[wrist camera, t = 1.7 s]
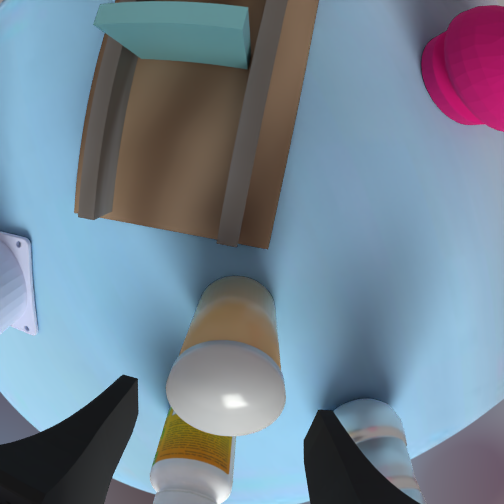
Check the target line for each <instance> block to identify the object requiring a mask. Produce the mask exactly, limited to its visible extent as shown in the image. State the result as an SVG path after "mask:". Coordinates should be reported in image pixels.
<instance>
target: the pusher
mask: <svg viewBox="0 0 504 504" xmlns="http://www.w3.org/2000/svg"><path fill="white" fill-rule="evenodd" d="M93 25H94V26H96V27H97V28H99V29H100V30H102V31H103V32H104V33H106V34H107V35H109V36H110V37H112V38H113V39H114V40H116V41H117V42H119V43H120V44H122V45H123V46H124V47H126V48H127V49H128V50H130V51H131V52H133V53H134V54H135V55H137V56H138V57H139V58H141V59H155V60H171V61H184V62H195V63H204V64H213V65H221V66H228V67H235V68H241V69H247V70H248V65H249V61H250V56H251V42H250V27H249V13H248V7H242V6H234V5H225V4H214V3H200V2H179V1H142V2H121V3H108V4H100V6H99V9H98V12H97V15H96V18H95V21H94V24H93Z"/></svg>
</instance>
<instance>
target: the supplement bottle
mask: <svg viewBox="0 0 504 504" xmlns="http://www.w3.org/2000/svg"><path fill="white" fill-rule="evenodd" d="M235 442H236V436H220V435H214V434H210V433H207V432H204V431H201V430H199V429H196V428H195V427H193V426H191V425H189V424H188V423H186V422H185V421H184V420H182V419H181V418H180V417H179V416H178V415H177V414H176V413H175V411H174V410H173V409H172V407H170V409H169V411H168V414H167V418H166V421H165V425H164V428H163V431H162V435H161V438H160V441H159V445H158V448H157V452H156V455H155V458H154V461H153V465H152V468H151V472H150V481H151V484H152V486H153V488H154V489H155V490H156V491H157V493H156V495H155V498H154V503H153V504H220V503H222V502H224V501H225V500H226V499H227V498H228V497H229V495H230V493H231V490H232V483H233V469H234V455H235Z"/></svg>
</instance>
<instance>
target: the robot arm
mask: <svg viewBox="0 0 504 504" xmlns="http://www.w3.org/2000/svg"><path fill="white" fill-rule="evenodd" d="M19 242H20V243H21V246H20V244H19ZM10 326H11V327H13V328H16V329H18V330H21V331H23V332H26V333H28V334H31V335H36V334H37V333H38V325H37V317H36V309H35V300H34V290H33V277H32V261H31V243H30V241H29V239H28V238H26V237H22V236H18V235H14V234H10V233H6V232H2V231H0V334H1V333H3V332H4V331H5V330H6V329H7V328H8V327H10ZM137 416H138V379H137V378H133V377H130V376H126V375H122V376H120V377H119V378H118V379H117V380H116V381H115V382H114V383H113V384H112V385H110V386H109V387H108V388H107V389H106V390H105V391H104V392H102V393H101V394H100V395H99V396H98V397H96V398H95V399H94V400H93V401H91V402H90V403H89V404H87V405H86V406H85V407H83V408H82V409H80V410H79V411H78V412H76V413H75V414H73V415H72V416H70V417H69V418H67V419H65V420H64V421H62V422H60V423H58V424H56V425H55V426H53V427H51V428H49V429H46V430H44V431H42V432H40V433H38V434H35V435H33V436H30V437H27V438H24V439H21V440H18V441H15V442H11V443H7V444H2V445H0V504H104V502H105V498H106V495H107V491H108V488H109V485H110V482H111V479H112V476H113V474H114V472H115V469H116V467H117V465H118V463H119V461H120V458H121V456H122V454H123V452H124V450H125V448H126V445H127V443H128V441H129V439H130V437H131V435H132V432H133V429H134V426H135V422H136V419H137ZM304 465H305V472H306V478H307V485H308V491H309V497H310V503H311V504H420V503H419V502H417V501H415V500H414V499H412V498H411V497H409V496H408V495H406V494H405V493H404V492H402V491H401V490H400V489H398V488H397V487H396V486H395V485H393V484H392V483H391V482H390V481H389V480H388V479H387V478H386V477H384V476H383V475H382V474H381V473H380V472H379V471H378V470H377V469H376V468H375V467H374V466H373V464H372V463H371V462H370V461H369V460H368V459H367V458H366V456H365V455H364V454H363V453H362V451H361V450H360V449H359V448H358V446H357V445H356V444H355V442H354V441H353V439H352V438H351V437H350V435H349V434H348V432H347V431H346V430H345V428H344V427H343V425H342V424H341V422H340V421H339V419H338V418H337V416H336V415H335V413H334V412H333V411H331V410H318V412H317V414H316V416H315V418H314V420H313V422H312V425H311V427H310V429H309V431H308V433H307V435H306V437H305V439H304Z"/></svg>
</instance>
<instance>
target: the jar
mask: <svg viewBox="0 0 504 504" xmlns="http://www.w3.org/2000/svg"><path fill="white" fill-rule="evenodd" d="M166 394H167V399H168V401H169V404H170V405H171V407H172V409H173V410H174V411H175V413H176V414H177V415H178V416H179V417H180V418H181V419H182V420H184V421H185V422H186V423H188V424H189V425H191V426H193V427H195V428H196V429H199V430H201V431H204V432H207V433H210V434H214V435H220V436H242V435H248V434H252V433H255V432H258V431H260V430H262V429H264V428H266V427H268V426H269V425H271V424H272V423H273V422H274V421H275V420H276V419H277V418H278V417H279V416H280V414H281V413H282V411H283V408H284V405H285V400H286V395H285V384H284V378H283V374H282V372H281V365H280V354H279V342H278V332H277V321H276V310H275V304H274V300H273V298H272V296H271V294H270V293H269V291H268V290H267V289H266V288H265V287H264V286H263V285H262V284H260V283H259V282H257V281H255V280H253V279H251V278H248V277H244V276H228V277H224V278H221V279H218V280H216V281H214V282H213V283H212V284H210V285H209V286H208V287H207V288H206V289H205V291H204V292H203V294H202V295H201V298H200V301H199V303H198V306H197V308H196V311H195V314H194V316H193V319H192V322H191V324H190V327H189V330H188V332H187V335H186V338H185V340H184V343H183V346H182V348H181V351H180V354H179V356H178V358H177V359H176V360H175V362H174V364H173V366H172V369H171V371H170V374H169V377H168V379H167V383H166Z"/></svg>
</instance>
